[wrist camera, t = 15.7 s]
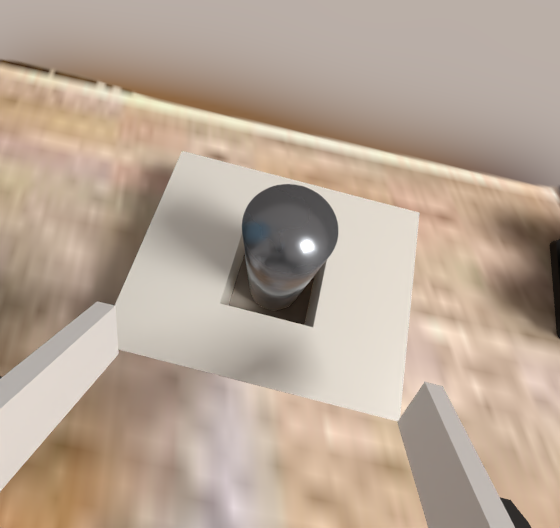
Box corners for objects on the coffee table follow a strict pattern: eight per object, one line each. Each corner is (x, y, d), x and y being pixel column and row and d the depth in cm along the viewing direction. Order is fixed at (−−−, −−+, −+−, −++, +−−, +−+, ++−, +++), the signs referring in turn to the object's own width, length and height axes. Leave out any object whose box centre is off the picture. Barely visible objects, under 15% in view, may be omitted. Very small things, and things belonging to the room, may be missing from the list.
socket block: (128, 345, 20) (97, 344, 16) (194, 182, 24) (182, 150, 20) (371, 407, 20) (399, 422, 16) (393, 234, 24) (419, 212, 20)
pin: (243, 303, 21) (229, 258, 11) (256, 255, 22) (256, 174, 12) (293, 316, 21) (328, 284, 11) (304, 268, 22) (345, 197, 12)
